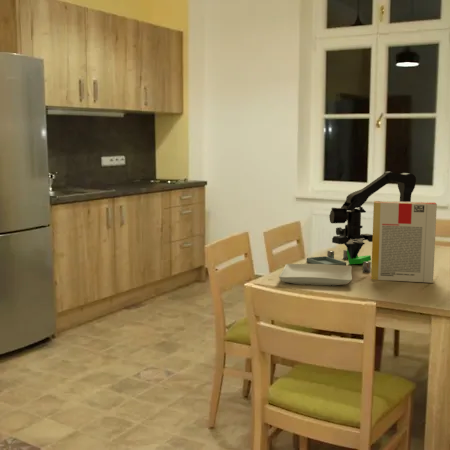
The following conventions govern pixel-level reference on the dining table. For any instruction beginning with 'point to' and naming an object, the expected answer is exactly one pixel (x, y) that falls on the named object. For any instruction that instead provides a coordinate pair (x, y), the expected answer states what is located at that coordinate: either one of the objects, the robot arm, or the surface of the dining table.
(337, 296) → the dining table surface
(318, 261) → the parts tray
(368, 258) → the mechanical part
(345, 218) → the robot arm
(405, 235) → the pasta box
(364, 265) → the spacer posts
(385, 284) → the dining table surface
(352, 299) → the dining table surface
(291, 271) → the square plate
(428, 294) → the dining table surface
